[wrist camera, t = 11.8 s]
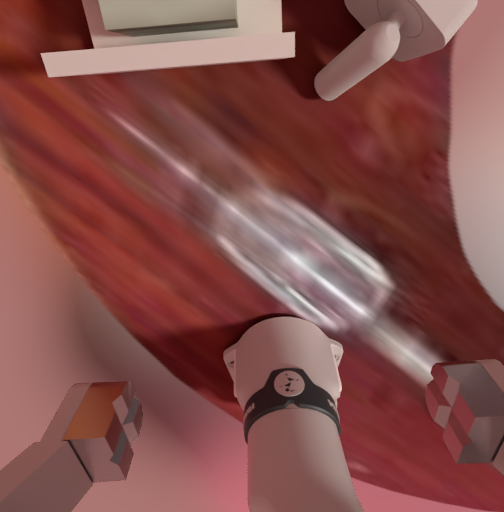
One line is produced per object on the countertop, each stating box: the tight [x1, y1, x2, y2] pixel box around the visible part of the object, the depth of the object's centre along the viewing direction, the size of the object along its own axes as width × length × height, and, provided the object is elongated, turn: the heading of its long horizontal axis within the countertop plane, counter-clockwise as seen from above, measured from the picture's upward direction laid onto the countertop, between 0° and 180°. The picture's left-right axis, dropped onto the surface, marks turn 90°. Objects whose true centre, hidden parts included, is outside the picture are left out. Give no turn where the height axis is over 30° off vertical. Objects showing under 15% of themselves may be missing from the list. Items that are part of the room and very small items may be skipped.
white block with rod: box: [314, 0, 478, 101], centre depth 29 cm, size 8×10×10 cm
